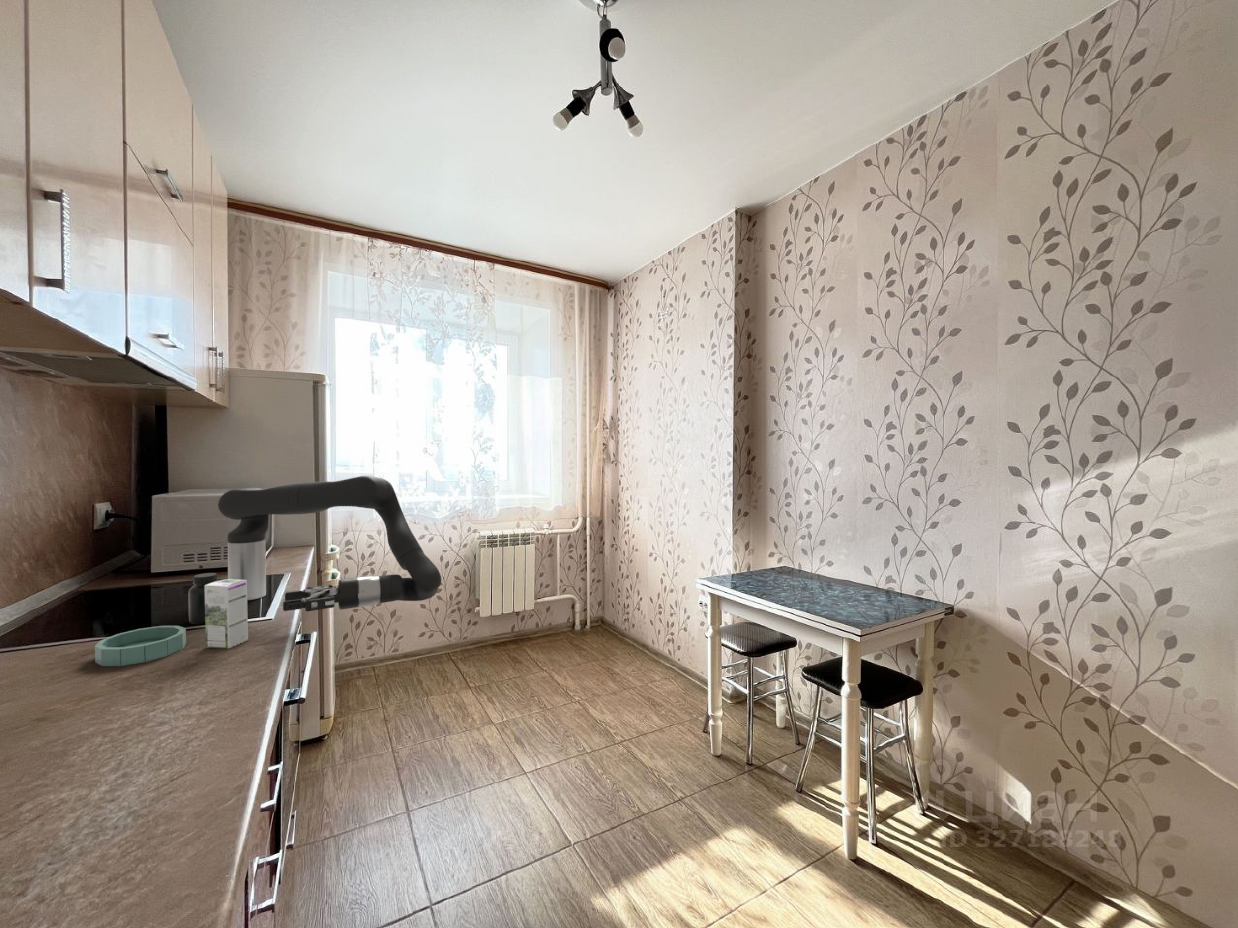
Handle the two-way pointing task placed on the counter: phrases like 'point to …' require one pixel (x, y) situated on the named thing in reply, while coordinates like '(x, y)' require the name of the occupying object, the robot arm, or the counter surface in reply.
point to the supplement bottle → (199, 597)
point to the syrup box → (226, 613)
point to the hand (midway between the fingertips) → (284, 601)
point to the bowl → (140, 645)
